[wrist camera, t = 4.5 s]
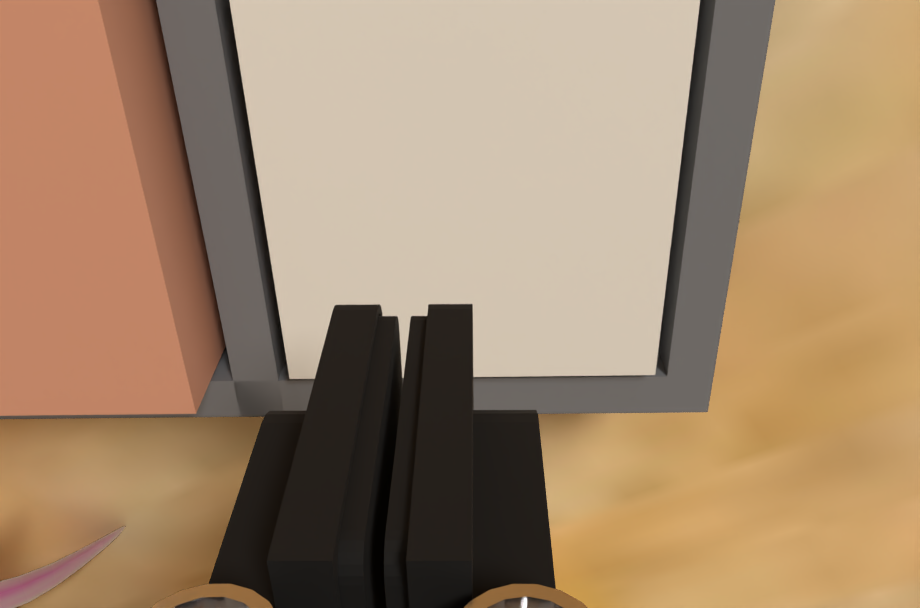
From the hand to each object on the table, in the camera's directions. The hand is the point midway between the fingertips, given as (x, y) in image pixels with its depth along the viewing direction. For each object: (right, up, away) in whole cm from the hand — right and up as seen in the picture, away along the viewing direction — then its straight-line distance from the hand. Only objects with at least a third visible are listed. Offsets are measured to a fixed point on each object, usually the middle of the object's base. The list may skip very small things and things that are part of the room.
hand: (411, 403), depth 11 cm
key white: (+1, +5, +7) cm, 9 cm away
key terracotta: (-9, +4, +7) cm, 12 cm away
